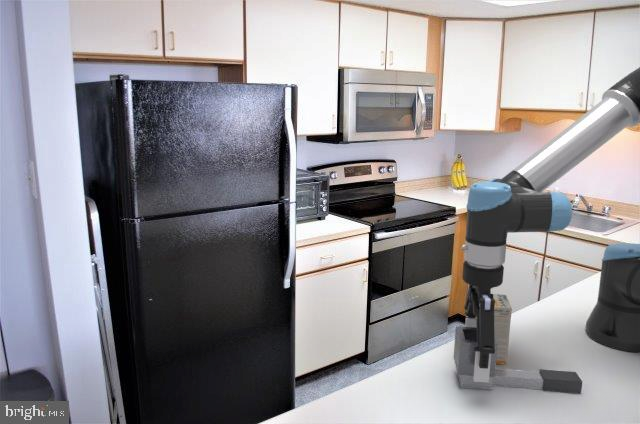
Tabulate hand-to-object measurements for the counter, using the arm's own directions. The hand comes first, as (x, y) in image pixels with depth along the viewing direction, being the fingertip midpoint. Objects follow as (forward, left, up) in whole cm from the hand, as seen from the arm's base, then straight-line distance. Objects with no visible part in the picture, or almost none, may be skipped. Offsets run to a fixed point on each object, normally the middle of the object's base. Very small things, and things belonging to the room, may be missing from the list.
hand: (475, 363), depth 104 cm
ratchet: (-8, 0, -4) cm, 9 cm away
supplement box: (-6, -12, -4) cm, 14 cm away
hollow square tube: (0, 0, -1) cm, 1 cm away
